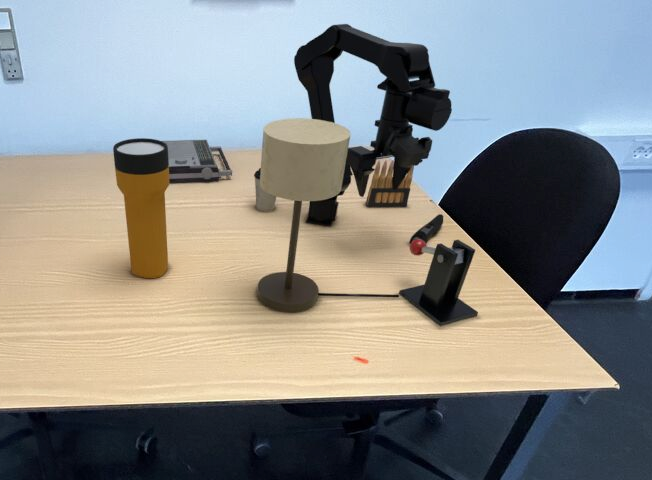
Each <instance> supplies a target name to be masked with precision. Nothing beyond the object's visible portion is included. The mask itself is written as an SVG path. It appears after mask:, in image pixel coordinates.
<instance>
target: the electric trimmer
mask: <svg viewBox="0 0 652 480" xmlns="http://www.w3.org/2000/svg"><path fill="white" fill-rule="evenodd" d="M443 224H444V215H443V214H437V215H436V216H435V217H433V219H431V220H430V221H428V222H427V223H426V224H424V225H423V226H422V227H420V228H419V229H418V230H416V232H414V233H413V235H411V237H410V240H409V245H410V244H411V243H412V242H413V241H414V240H417V239H421V240H423V241H425V243H426V244H427V243H428V240H429V239H430V238H431V236H433V235H436V234H437V233H438V232H439V231H440V229H441V228H442V226H443Z"/></svg>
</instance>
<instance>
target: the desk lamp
mask: <svg viewBox="0 0 652 480" xmlns="http://www.w3.org/2000/svg"><path fill="white" fill-rule="evenodd" d="M262 131H263V132H262V144H261V160H260V168H261V171H260V186H261V188H262V189H263V190H264V191H266V192H267V193H269V194H271V195H273V196H276V198H280V199H282V200H283V199H284V200H289V201H293V209H292V216H291V217H292V218H291V225H290V226H291V227H290V234H289V244H288V253H287V254H288V255H287V260H286V261H287V263H286V269H285V270H286V271H279V272H278V271H277V272H272V273H269V274H267V275H264V276H263V277H262V278H260V280H259V281H258V283H257V289H256V290H257V291H256V296H257V299H258V301H259V302H260V304H262V305H263V306H265V307H266V308H268V309H270V310H273V311H277V312H281V313H287V314H288V313H291V314H292V313H294V314H295V313H301V312H305V311H308V310H309V309H312V308H313V307H314V306H315V305H316V304H317V301H318V298H319V297H357V298H358V297H360V298H361V297H362V298H399V297H400V295H399V294H377V293H376V294H374V293H373V294H372V293H333V292H332V293H326V292H319V290H320V289H319V286H318V284H317V282H316V281H314V279H311V278H310V277H308V276H307V275H304V274H300V273H297V272H294V271H295V264H296V255H297V247H298V239H299V231H300V224H301V223H300V222H301V215H302V206H303V202H310V201H319V200H325V199H329V198H332V197H334V196H336V195H337V194H339V192H340V191H341V187H342V182H343V176H344V170H345V164H346V158H347V152H348V148H349V145H350V139H351V131H350V130H349V129H348V128H347V127H345V126H344V125H341V124H339V123H336V122H335V123H333V122H328V121H323V120H316V119H312V118H300V117H299V118H298V117H297V118H284V119H283V118H282V119H277V120H273V121H270V122H268V123H266V124H265V125H264V126H263V129H262Z"/></svg>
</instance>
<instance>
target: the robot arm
mask: <svg viewBox="0 0 652 480" xmlns="http://www.w3.org/2000/svg"><path fill="white" fill-rule="evenodd" d="M343 52H345V53H347V54H349V55H352V56H355V57H356V58H359V59H361V60H364V61H366V62H368V63H371V64H373V65H374V66H375V67H377V69H378V71H379V73H380V74H382V75H383V76H384V77H385V79H384V80H383V81H381V82H380V83H379V84H377V86H376V88H377V89H378V90H381V91H384V92H385V93H384V97H383V101H382V102H383V103H382V108H381V113H380V116H379V119H376V120H375V121H374V124H373V125H374V127H377V132H376V135H375V136H376V137H375V140H371V141H370V145H369V147H371V148H373V149H372V150H370V149H368V148H367V147H364V146H362V145H359V146H352V147H348V152H347V158H346V164H345V170H344V176H343V182H342V187H341V191H340V192H339V194H337V195H336V196H334V197H332V198H329V199H325V200H319V201H309V203H308V204H309V205H308V211H307V216H306V219H305V223H308V224H314V225H321V226H328V227H332V226H333V223H334V222H335V221H336V219H337V216H338V209H339V203H340V202H339V201H338V197H339V196H343V195H344V194H345V192H346V190H347V189H348V188H349V187H350V185H351V184H352V176H353V178H354V181H355V184H356V188H357V193H358V196H359V197H360V198H363V197H364V196H365V194H366V191H367V186H368V182H369V179H370V175H371V174H372V173H374V171H375V168H373V167H374V166H376V164H377V160H383V159H388V158H394V160H393V161H394V168H393V174H392V177H393V179H392V189H393V190H397V189H398V187H399V186H400V184H401V183H402V181H403V179H404V178H405V176H407V173H408V172H409V170H410V169H411V168H412V167H413V166H414V167H415V166H419V164H421V163H423V160H426V159H428V158H429V156H430V152H431V151H432V146H433V139H432V138H431V137H430V136H424V137H420V138H419V137H414V136H413V131H414V128H413V125H414V126H415V125H416V126H418V127H422V128H425V129H428V130H432V131H434V132H437V131H440V130H442V129H443V128H444V127H445V125H447V123H448V121H449V119H450V117H451V115H452V111H453V108H452V101H451V99H450V94H451V91H450V90H449V89H447V88H446V89H445V88H436V82H435V78H434V74H433V71H432V68H431V63H430V55H429V49H428V48H427V46H425V45H424V44H420V43H412V42H395V41H394V42H393V41H389V40H387V39H384V38H381V37H379V36H376V35H374V34H371V33H368V32H365V31H363V30H360V29H358V28H355V27H353V26H351V25H350V24H348V23H339V24H332V25H330V26H329V27H328V28H326V30H324V31H323V32H322V33H320V34H319V35H318V36H315V37H314V38H313V39H311V40H309V41H308V42H307V43H306V44H303V45H300V46H299V48H298V49H297V51H296V53H295V55H294V59H293V63H294V69H295V72H296V75H297V78H298V79H297V80H298V81H299V82H300V84H301V85H302V86H303V88H304V90H306V92H307V98H308V104H309V110H310V116H311V117H310V118H311V119H316V120H323V121H328V122H333V123H336V122H335V121H336V120H335V115H334V107H333V103H332V102H333V101H332V93H331V87H330V86H331V82H332V79H333V75H334V73H335V61H337V59H338V58H339V57H341V56H342V54H343ZM412 124H413V125H412Z"/></svg>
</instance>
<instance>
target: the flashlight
mask: <svg viewBox="0 0 652 480" xmlns="http://www.w3.org/2000/svg"><path fill="white" fill-rule="evenodd" d="M162 141H163V140H159V139H154V138H146V137H139V138H137V137H136V138H129V139H125V140H121V141H119V142H116V143H115V144H114V145H113V148H112V151H113V162H114V172H115V179H116V186H117V188H118V190H119V191H120V192H121V194H122V195H123V200H124V201H123V202H124V211H125V220H126V231H127V241H128V251H129V259H130V269H131V273H132V274H133V275H134V276H136V277H139V278H145V279H157V278H160V277H162V276H163V275H164V274H166V273H167V271H168V269H169V254H168V231H167V214H166V195H165V194H166V191H167V189H168V188H169V186H170V183H169V159H168V147H167V144H166V143H164V142H162Z"/></svg>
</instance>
